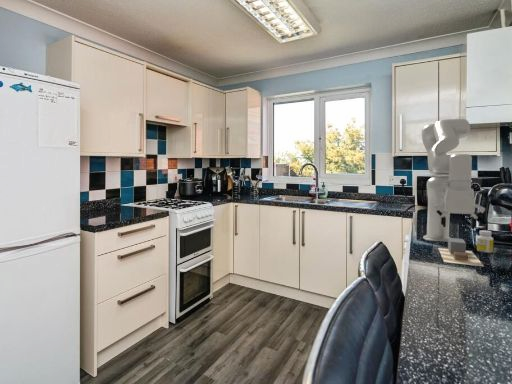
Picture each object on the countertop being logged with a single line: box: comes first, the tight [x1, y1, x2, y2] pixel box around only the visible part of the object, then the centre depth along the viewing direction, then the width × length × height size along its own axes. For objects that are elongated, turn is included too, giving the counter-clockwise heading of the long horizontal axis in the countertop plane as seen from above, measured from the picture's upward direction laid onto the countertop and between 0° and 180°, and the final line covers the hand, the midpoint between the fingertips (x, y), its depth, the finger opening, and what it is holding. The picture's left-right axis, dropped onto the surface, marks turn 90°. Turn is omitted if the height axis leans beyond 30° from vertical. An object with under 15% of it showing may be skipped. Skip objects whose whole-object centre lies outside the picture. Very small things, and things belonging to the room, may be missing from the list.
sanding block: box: [447, 237, 467, 254], centre depth 123 cm, size 8×5×5 cm, turn 154°
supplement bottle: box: [476, 229, 494, 254], centre depth 126 cm, size 5×5×10 cm
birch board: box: [437, 247, 485, 267], centre depth 118 cm, size 22×12×2 cm, turn 154°
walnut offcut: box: [453, 252, 468, 261], centre depth 114 cm, size 4×4×2 cm
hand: (457, 227), depth 122 cm, fingers open, 9 cm apart
